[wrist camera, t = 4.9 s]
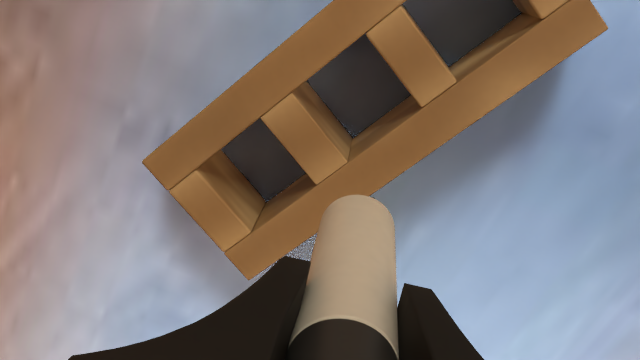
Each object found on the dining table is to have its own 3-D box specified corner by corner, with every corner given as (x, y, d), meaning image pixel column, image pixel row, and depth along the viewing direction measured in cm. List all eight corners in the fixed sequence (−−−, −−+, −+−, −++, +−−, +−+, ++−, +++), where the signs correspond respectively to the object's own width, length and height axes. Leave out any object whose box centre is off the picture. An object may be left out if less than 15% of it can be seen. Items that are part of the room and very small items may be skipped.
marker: (409, 235, 17) (428, 459, 10) (350, 274, 18) (322, 513, 10) (364, 179, 17) (344, 363, 9) (305, 220, 18) (239, 427, 10)
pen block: (578, 19, 20) (609, 28, 18) (263, 245, 25) (248, 281, 22) (482, -124, 19) (499, -139, 16) (169, 138, 24) (140, 162, 21)
